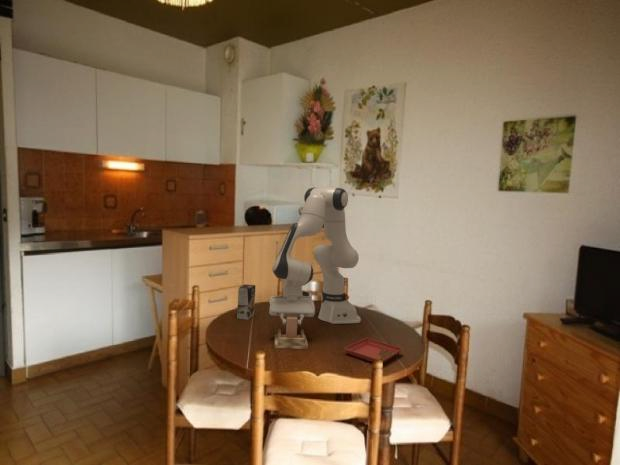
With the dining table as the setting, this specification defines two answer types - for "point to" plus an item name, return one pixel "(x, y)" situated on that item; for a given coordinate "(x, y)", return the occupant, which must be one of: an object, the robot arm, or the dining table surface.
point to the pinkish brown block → (291, 327)
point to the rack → (291, 341)
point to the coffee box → (246, 302)
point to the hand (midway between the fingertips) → (291, 324)
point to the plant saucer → (371, 349)
